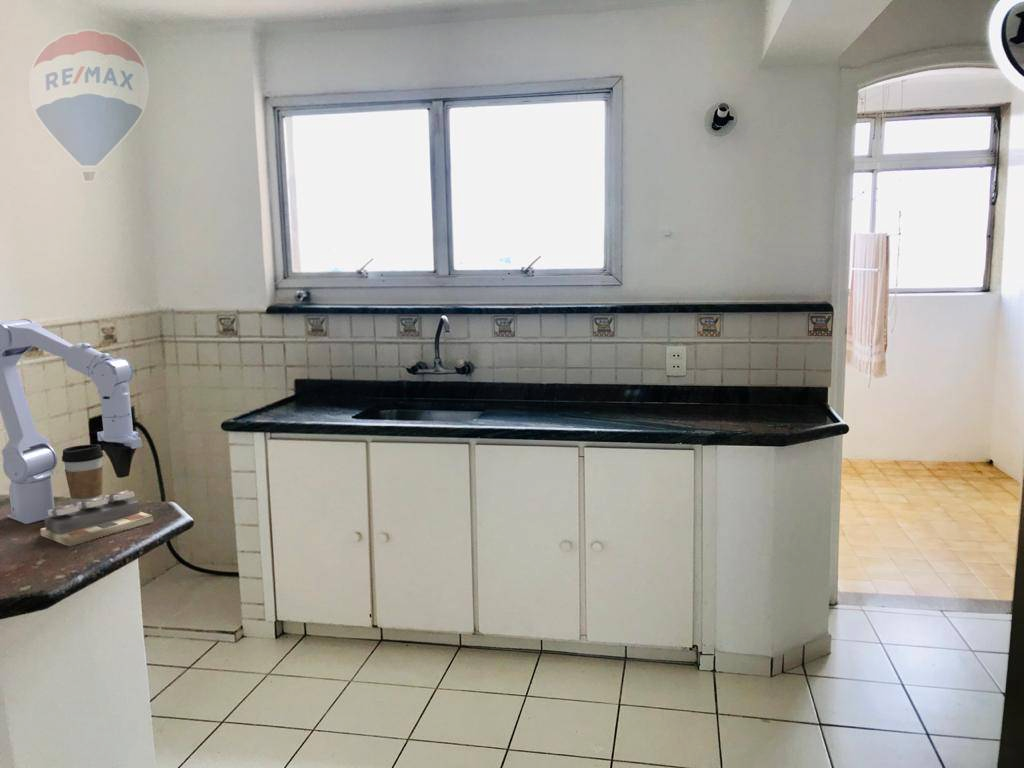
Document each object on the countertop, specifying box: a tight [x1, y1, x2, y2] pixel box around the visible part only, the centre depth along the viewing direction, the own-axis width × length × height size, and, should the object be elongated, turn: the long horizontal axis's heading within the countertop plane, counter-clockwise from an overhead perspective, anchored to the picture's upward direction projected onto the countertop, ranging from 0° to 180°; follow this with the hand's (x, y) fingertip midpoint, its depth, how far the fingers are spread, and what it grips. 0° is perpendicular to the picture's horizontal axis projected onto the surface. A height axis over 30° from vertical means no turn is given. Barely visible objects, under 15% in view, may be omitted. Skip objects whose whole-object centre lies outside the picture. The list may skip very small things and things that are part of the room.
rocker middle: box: [77, 496, 108, 510], centre depth 176 cm, size 6×4×2 cm, turn 54°
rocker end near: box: [48, 503, 80, 517], centre depth 171 cm, size 6×4×2 cm, turn 54°
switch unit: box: [39, 498, 154, 547], centre depth 175 cm, size 12×18×4 cm, turn 144°
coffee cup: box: [61, 443, 104, 509], centre depth 188 cm, size 8×8×15 cm
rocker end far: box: [103, 489, 136, 502], centre depth 181 cm, size 6×4×2 cm, turn 54°
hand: (122, 476), depth 178 cm, fingers closed
